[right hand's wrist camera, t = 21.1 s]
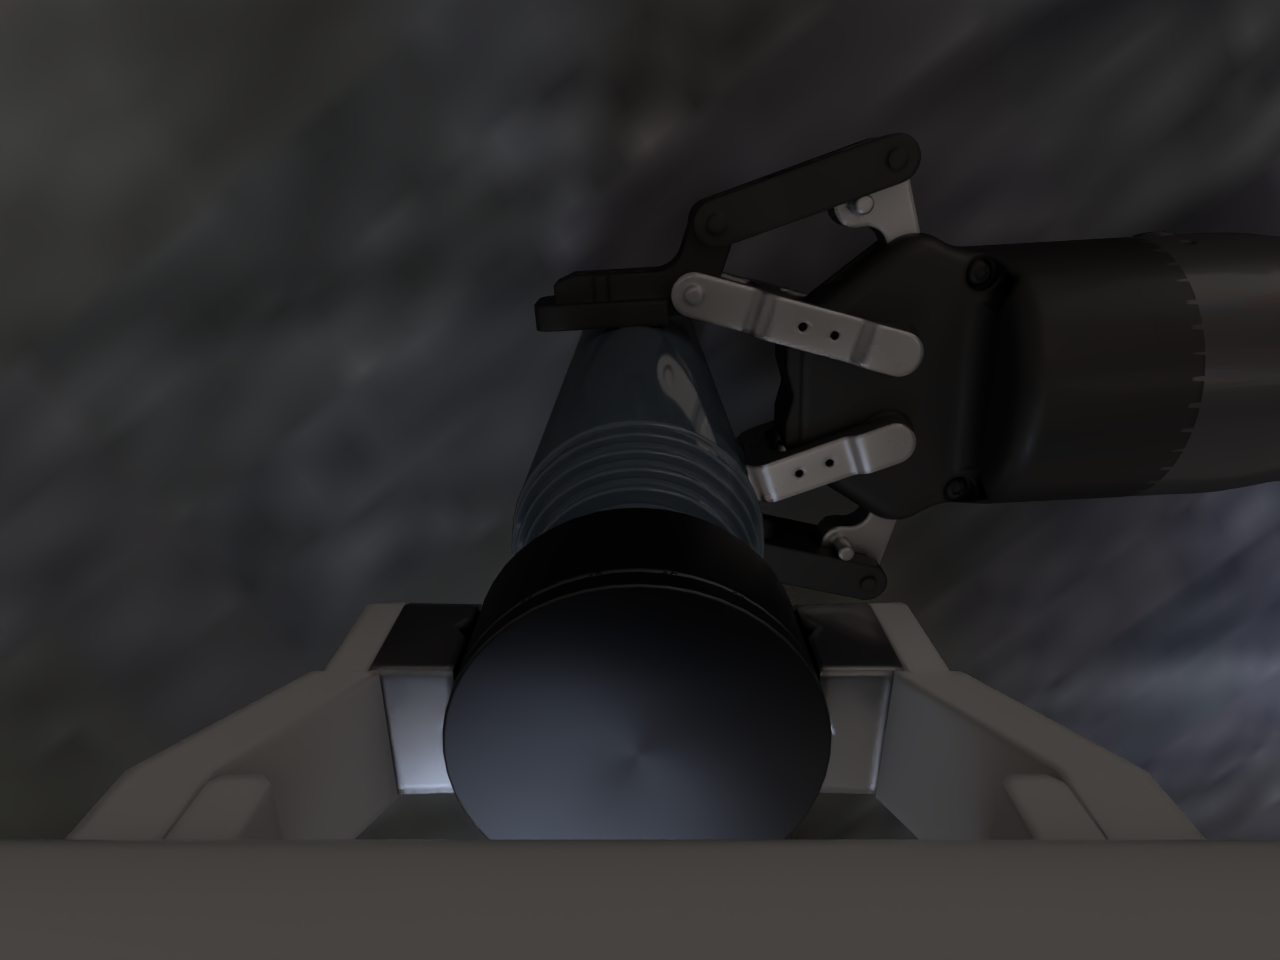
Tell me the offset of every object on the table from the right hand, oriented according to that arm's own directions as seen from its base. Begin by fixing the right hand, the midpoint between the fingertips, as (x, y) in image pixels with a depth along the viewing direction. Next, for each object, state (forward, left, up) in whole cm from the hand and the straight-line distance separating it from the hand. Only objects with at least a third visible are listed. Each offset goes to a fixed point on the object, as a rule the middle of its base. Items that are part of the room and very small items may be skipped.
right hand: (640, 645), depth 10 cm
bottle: (0, 0, -20) cm, 20 cm away
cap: (0, 0, +2) cm, 2 cm away
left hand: (-2, -2, -13) cm, 13 cm away
